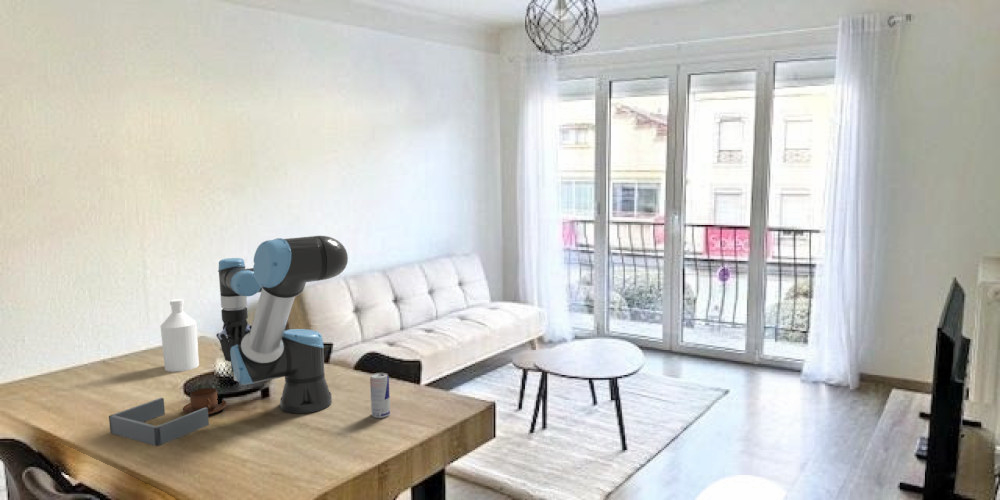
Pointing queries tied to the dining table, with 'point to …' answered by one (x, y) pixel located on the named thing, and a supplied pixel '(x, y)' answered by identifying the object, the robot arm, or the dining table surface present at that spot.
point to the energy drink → (380, 395)
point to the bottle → (179, 339)
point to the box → (134, 428)
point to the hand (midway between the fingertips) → (238, 380)
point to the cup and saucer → (204, 401)
